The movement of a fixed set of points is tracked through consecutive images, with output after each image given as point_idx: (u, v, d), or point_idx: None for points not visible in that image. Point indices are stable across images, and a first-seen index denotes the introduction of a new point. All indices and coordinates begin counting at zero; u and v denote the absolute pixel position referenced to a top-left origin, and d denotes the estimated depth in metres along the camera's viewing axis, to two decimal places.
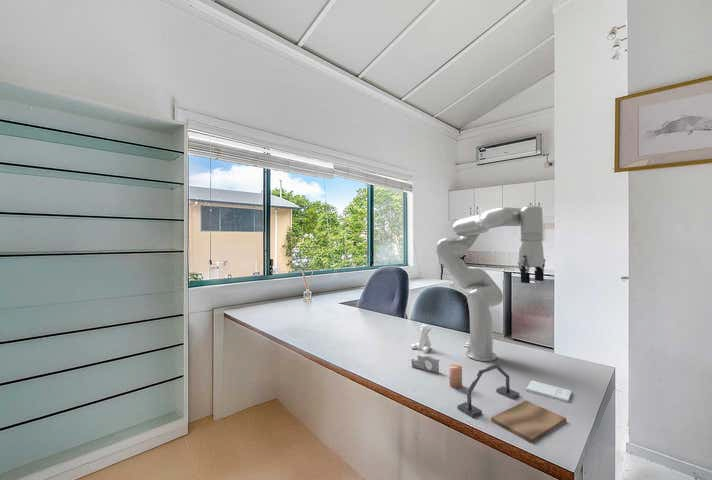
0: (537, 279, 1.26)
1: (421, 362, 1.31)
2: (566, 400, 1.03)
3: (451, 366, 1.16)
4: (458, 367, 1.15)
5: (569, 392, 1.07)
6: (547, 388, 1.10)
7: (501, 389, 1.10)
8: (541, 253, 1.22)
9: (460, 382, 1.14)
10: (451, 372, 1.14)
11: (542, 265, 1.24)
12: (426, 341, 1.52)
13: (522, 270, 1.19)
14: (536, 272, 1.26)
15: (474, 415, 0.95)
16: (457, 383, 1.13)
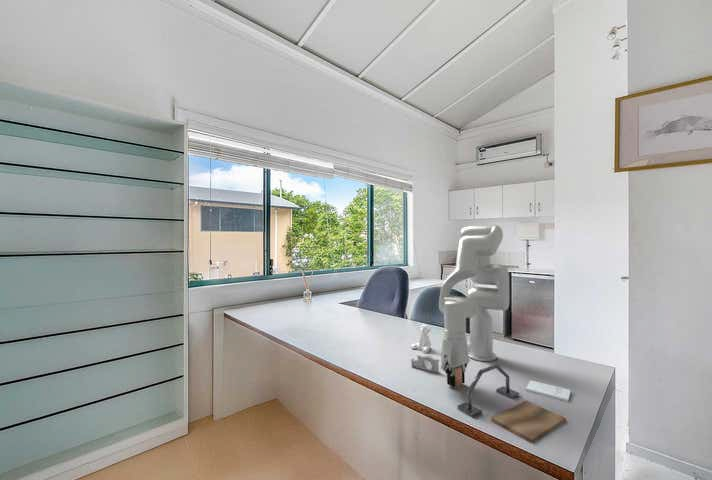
0: None
1: (421, 362, 1.31)
2: (566, 399, 1.03)
3: None
4: (458, 367, 1.15)
5: (568, 391, 1.08)
6: (546, 388, 1.10)
7: (501, 389, 1.10)
8: (465, 351, 1.15)
9: (460, 382, 1.14)
10: None
11: (463, 366, 1.16)
12: (426, 341, 1.52)
13: (447, 373, 1.13)
14: None
15: (474, 415, 0.95)
16: (457, 383, 1.13)
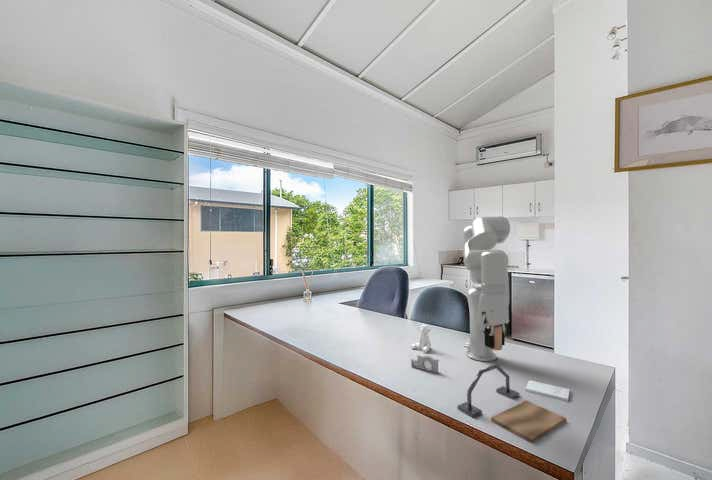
0: None
1: (421, 362, 1.31)
2: (566, 399, 1.03)
3: None
4: (497, 326, 1.01)
5: (567, 391, 1.08)
6: (545, 387, 1.11)
7: (501, 389, 1.10)
8: (505, 308, 1.01)
9: (500, 343, 1.00)
10: None
11: (503, 326, 1.02)
12: (426, 341, 1.52)
13: (485, 332, 0.99)
14: None
15: (474, 415, 0.95)
16: (496, 344, 0.99)
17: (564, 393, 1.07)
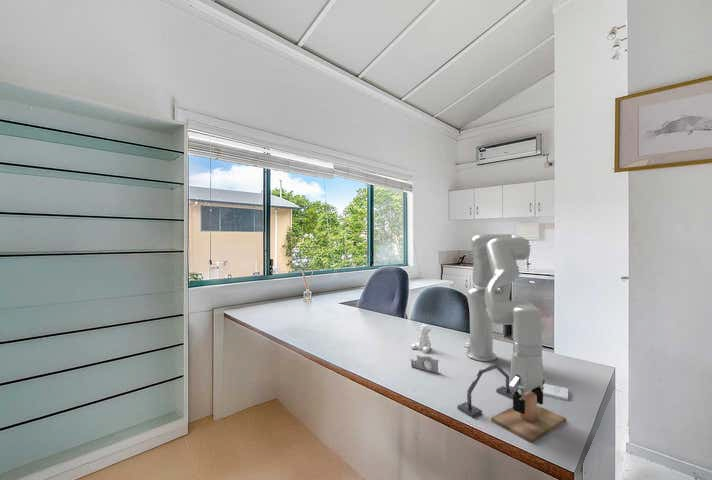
0: None
1: (420, 362, 1.31)
2: (566, 398, 1.04)
3: None
4: (532, 394, 0.92)
5: (566, 390, 1.09)
6: (545, 387, 1.11)
7: (501, 389, 1.10)
8: (540, 369, 0.92)
9: (535, 414, 0.91)
10: None
11: (541, 383, 0.94)
12: (426, 341, 1.52)
13: (515, 396, 0.89)
14: (533, 391, 0.95)
15: (474, 415, 0.95)
16: (531, 415, 0.90)
17: (563, 392, 1.07)
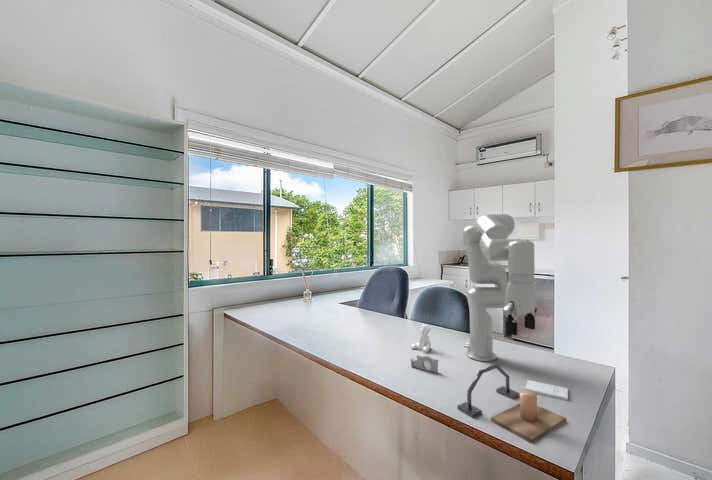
0: (527, 326, 1.05)
1: (420, 362, 1.31)
2: (566, 398, 1.04)
3: (522, 393, 0.93)
4: (532, 394, 0.92)
5: (566, 390, 1.09)
6: (544, 387, 1.11)
7: (501, 389, 1.10)
8: (532, 297, 1.01)
9: (535, 413, 0.91)
10: (523, 401, 0.92)
11: (533, 310, 1.03)
12: (426, 341, 1.52)
13: (508, 319, 0.98)
14: (526, 318, 1.05)
15: (474, 415, 0.95)
16: (531, 415, 0.90)
17: (563, 392, 1.07)
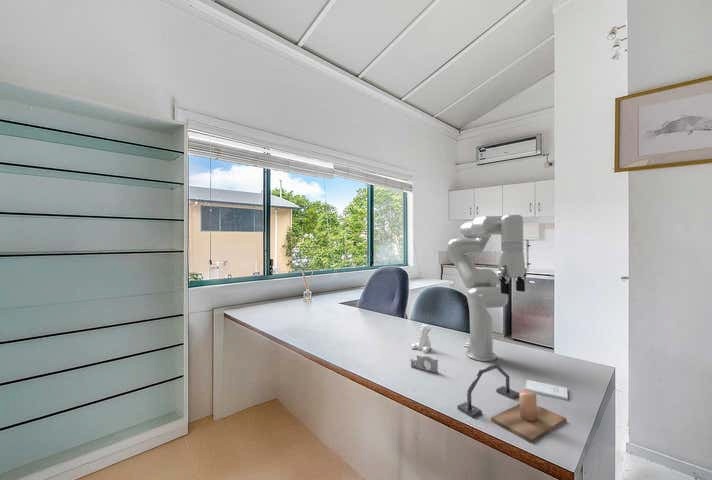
0: (518, 289, 1.22)
1: (420, 362, 1.31)
2: (565, 398, 1.04)
3: (522, 392, 0.93)
4: (531, 394, 0.92)
5: (565, 389, 1.09)
6: (544, 387, 1.11)
7: (501, 389, 1.10)
8: (522, 263, 1.19)
9: (535, 413, 0.91)
10: (522, 400, 0.92)
11: (523, 275, 1.21)
12: (426, 341, 1.52)
13: (502, 281, 1.16)
14: (517, 282, 1.22)
15: (474, 415, 0.95)
16: (530, 414, 0.91)
17: (563, 392, 1.07)
